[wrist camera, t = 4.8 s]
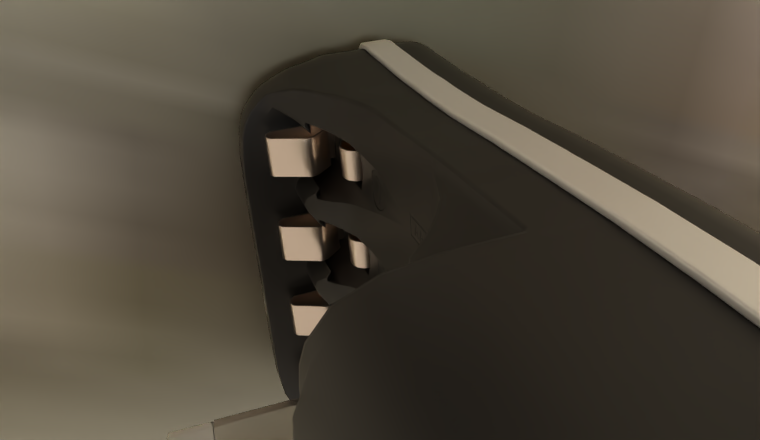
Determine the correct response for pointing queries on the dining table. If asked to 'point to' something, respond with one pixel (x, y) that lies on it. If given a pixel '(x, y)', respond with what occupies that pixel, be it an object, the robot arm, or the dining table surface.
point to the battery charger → (485, 267)
